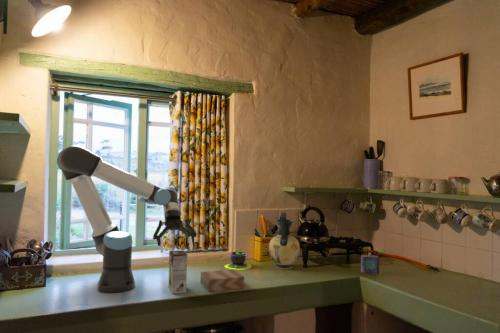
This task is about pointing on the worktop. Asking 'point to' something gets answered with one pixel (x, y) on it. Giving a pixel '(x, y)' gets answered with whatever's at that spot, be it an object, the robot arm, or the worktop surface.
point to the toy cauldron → (238, 261)
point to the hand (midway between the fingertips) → (177, 250)
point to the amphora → (284, 244)
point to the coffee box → (177, 271)
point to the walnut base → (222, 280)
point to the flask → (370, 264)
